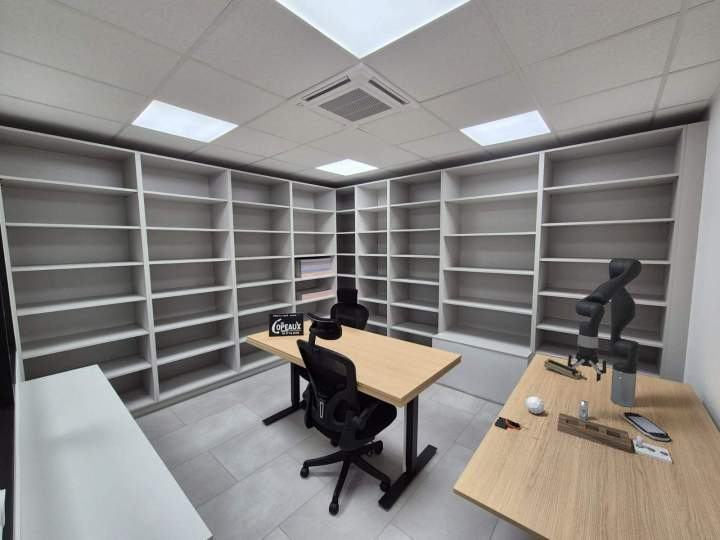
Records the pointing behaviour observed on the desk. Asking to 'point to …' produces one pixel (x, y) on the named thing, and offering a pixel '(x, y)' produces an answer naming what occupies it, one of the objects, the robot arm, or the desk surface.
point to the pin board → (594, 432)
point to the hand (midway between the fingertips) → (585, 378)
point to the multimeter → (507, 424)
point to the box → (562, 369)
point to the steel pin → (583, 410)
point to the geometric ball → (534, 405)
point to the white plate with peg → (651, 450)
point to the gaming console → (646, 426)
